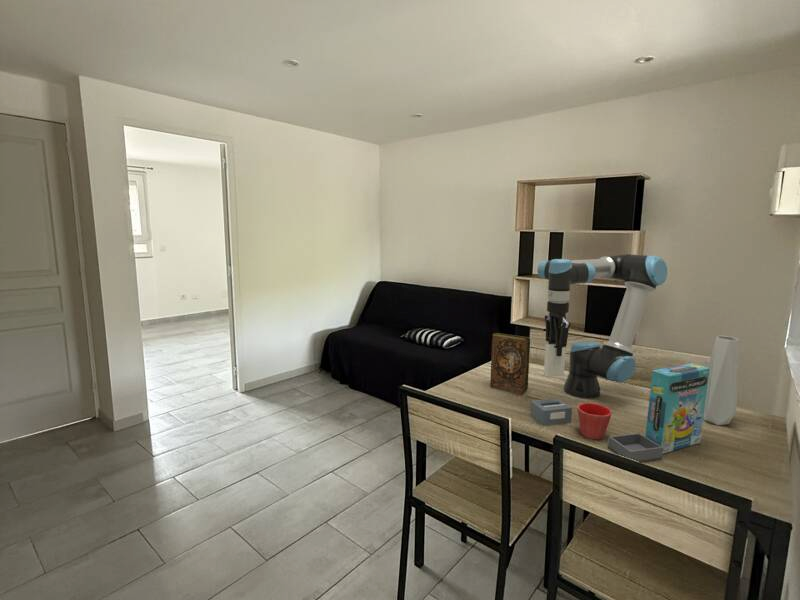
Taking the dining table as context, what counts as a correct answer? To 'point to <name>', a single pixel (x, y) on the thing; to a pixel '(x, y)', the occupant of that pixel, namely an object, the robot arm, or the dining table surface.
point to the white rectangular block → (549, 367)
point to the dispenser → (551, 411)
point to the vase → (722, 381)
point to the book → (510, 363)
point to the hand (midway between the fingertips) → (554, 362)
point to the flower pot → (593, 420)
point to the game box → (677, 406)
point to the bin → (635, 447)
